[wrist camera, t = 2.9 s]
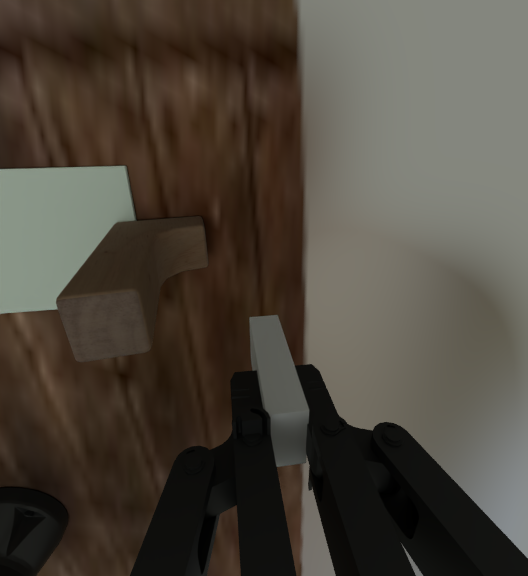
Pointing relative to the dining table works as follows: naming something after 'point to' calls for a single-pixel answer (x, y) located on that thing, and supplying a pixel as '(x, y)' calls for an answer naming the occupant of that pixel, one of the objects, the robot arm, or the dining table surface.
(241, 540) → the robot arm
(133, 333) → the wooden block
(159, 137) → the dining table surface
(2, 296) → the mat
